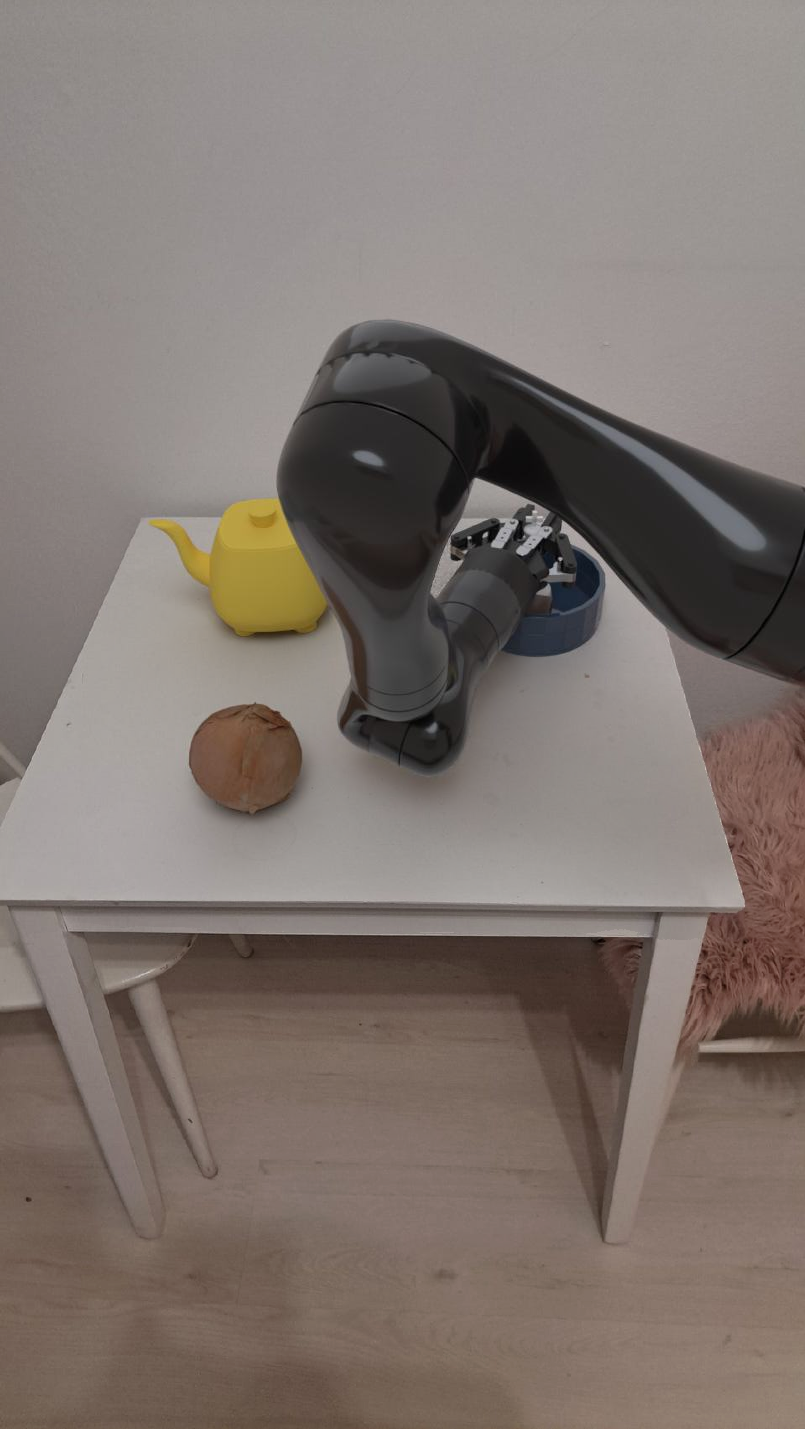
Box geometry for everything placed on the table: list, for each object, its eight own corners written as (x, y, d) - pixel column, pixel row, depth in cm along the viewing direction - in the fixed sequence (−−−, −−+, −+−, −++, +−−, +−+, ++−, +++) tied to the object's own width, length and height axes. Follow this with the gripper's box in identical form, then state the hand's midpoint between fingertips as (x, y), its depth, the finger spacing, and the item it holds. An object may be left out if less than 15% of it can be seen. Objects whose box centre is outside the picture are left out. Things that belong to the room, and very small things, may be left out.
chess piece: (553, 607, 98) (562, 524, 91) (506, 607, 98) (511, 525, 91) (548, 579, 101) (557, 498, 94) (503, 580, 101) (508, 499, 95)
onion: (284, 786, 87) (313, 693, 82) (286, 845, 78) (318, 745, 74) (182, 765, 84) (207, 668, 80) (173, 824, 76) (200, 719, 72)
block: (550, 623, 97) (553, 596, 95) (544, 644, 95) (547, 616, 92) (517, 618, 98) (519, 591, 96) (510, 638, 96) (512, 611, 93)
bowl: (615, 593, 102) (621, 554, 98) (575, 671, 93) (581, 632, 89) (494, 563, 106) (496, 526, 103) (445, 635, 97) (445, 596, 94)
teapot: (356, 644, 97) (348, 541, 88) (163, 655, 96) (136, 552, 87) (354, 568, 106) (346, 468, 98) (179, 577, 106) (156, 478, 97)
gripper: (556, 591, 80) (613, 495, 91) (411, 555, 84) (482, 468, 96) (549, 658, 85) (603, 560, 96) (412, 621, 90) (479, 531, 101)
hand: (542, 515), depth 96 cm, fingers closed on chess piece
